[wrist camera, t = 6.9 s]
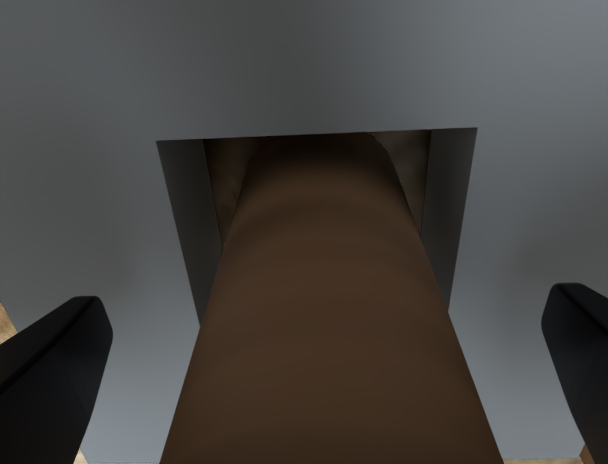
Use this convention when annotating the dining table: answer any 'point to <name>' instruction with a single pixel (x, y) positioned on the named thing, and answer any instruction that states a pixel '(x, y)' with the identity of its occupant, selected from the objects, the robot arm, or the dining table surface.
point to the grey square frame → (297, 121)
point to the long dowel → (326, 325)
